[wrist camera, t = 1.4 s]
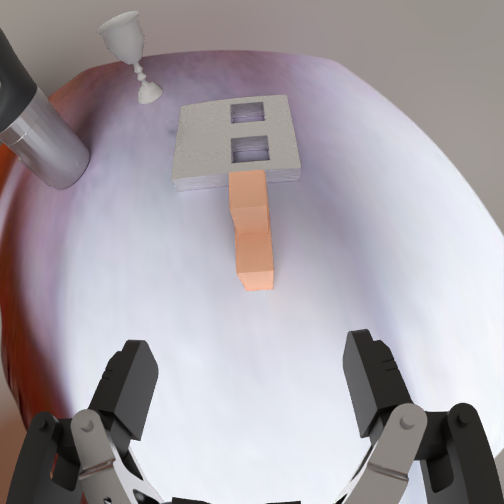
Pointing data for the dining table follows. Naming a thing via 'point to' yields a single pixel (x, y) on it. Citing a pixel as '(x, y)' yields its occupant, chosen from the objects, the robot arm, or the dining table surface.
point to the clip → (251, 229)
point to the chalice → (129, 49)
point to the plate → (234, 141)
